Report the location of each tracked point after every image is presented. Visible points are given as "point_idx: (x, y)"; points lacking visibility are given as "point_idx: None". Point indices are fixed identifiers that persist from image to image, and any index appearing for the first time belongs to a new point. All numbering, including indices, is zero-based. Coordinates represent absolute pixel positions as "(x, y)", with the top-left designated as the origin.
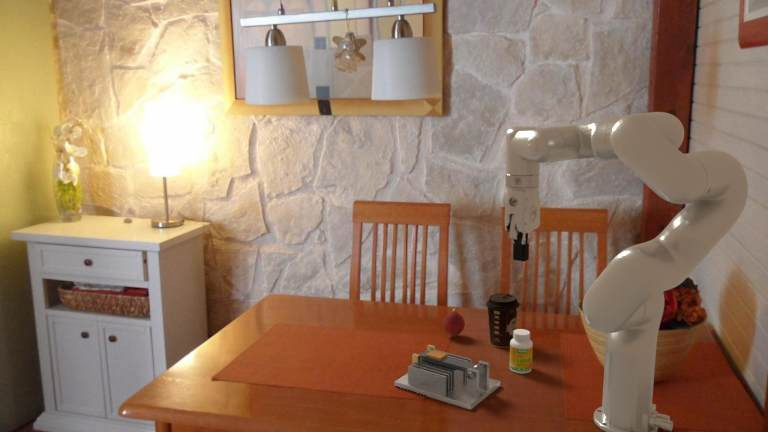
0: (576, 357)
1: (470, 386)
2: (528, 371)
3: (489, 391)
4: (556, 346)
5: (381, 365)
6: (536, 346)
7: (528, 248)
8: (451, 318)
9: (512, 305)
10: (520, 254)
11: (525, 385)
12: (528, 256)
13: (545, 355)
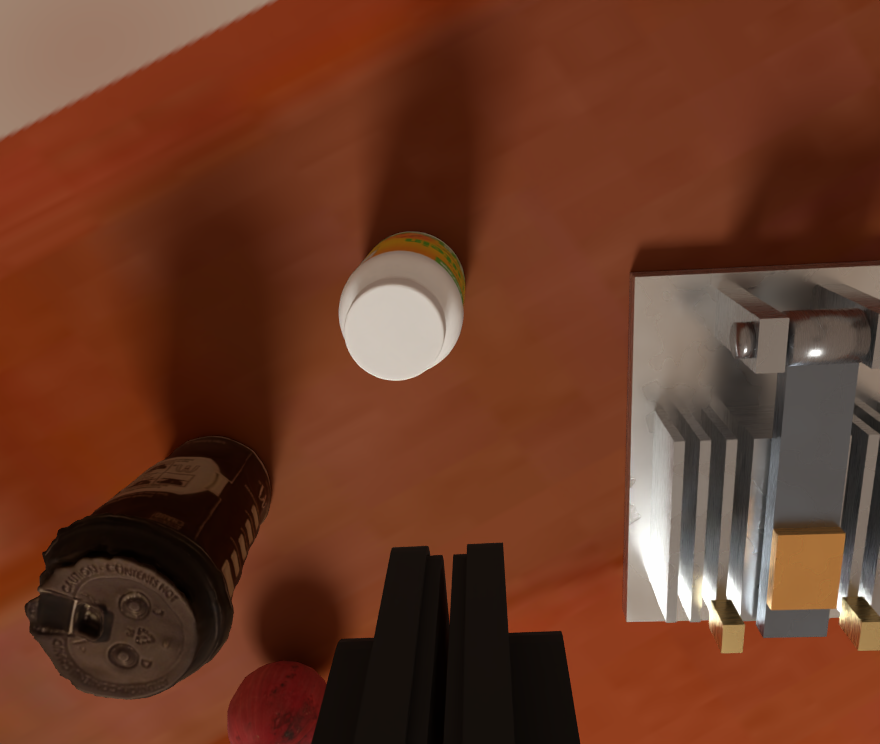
0: (104, 124)
1: None
2: (428, 234)
3: (741, 270)
4: (58, 268)
5: (722, 733)
6: (129, 345)
7: (389, 675)
8: (305, 741)
9: (144, 539)
10: (567, 676)
11: (556, 181)
12: (395, 573)
13: (192, 262)
